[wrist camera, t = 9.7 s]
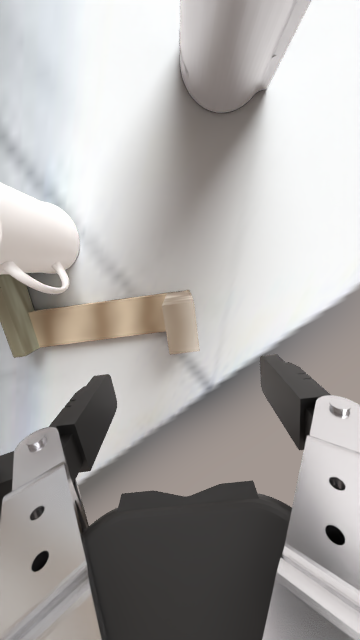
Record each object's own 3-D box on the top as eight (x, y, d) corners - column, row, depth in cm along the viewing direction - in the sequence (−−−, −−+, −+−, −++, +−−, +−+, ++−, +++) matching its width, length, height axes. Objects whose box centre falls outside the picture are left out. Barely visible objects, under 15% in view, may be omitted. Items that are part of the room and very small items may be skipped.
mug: (109, 271, 28) (59, 276, 16) (60, 305, 29) (-19, 333, 17) (48, 187, 25) (-65, 120, 13) (-2, 229, 26) (-146, 200, 15)
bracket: (174, 171, 24) (172, 119, 16) (193, 325, 29) (199, 350, 21) (-14, 199, 25) (-117, 165, 16) (35, 345, 30) (-24, 378, 21)
